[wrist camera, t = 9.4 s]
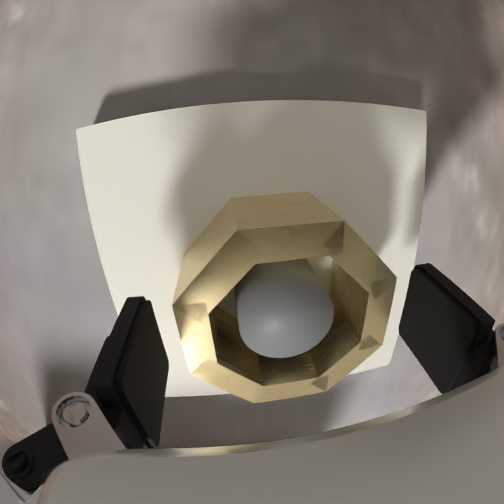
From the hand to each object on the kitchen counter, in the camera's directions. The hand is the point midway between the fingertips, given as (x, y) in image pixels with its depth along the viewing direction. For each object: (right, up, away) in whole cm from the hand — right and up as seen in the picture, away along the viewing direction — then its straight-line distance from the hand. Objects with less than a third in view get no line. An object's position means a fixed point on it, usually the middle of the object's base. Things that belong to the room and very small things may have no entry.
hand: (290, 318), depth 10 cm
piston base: (-1, +2, +4) cm, 4 cm away
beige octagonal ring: (0, +1, +2) cm, 3 cm away
